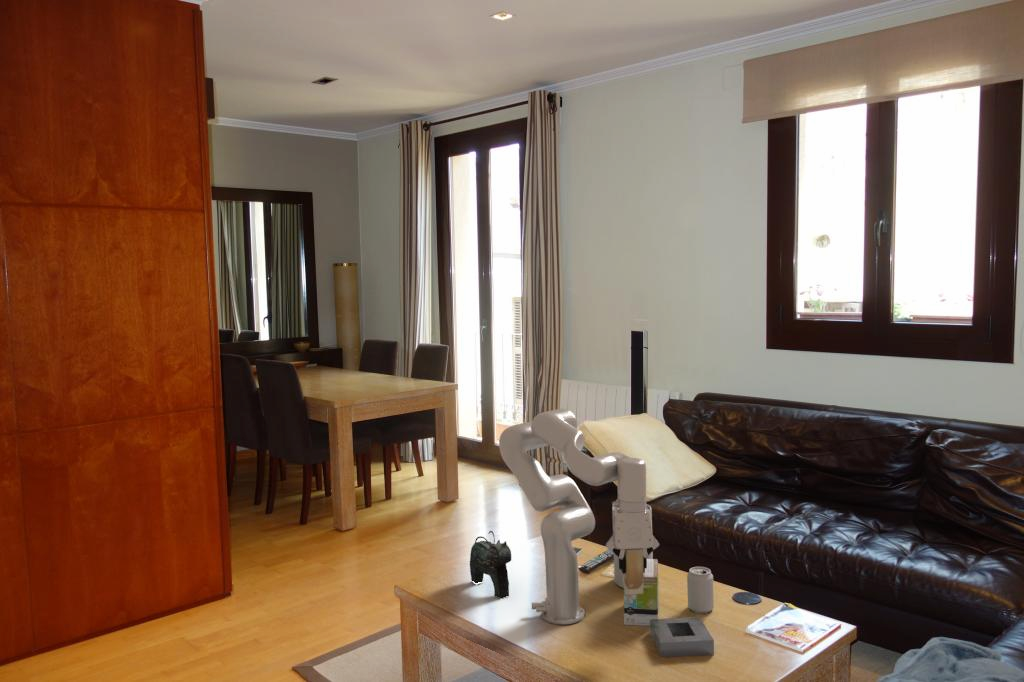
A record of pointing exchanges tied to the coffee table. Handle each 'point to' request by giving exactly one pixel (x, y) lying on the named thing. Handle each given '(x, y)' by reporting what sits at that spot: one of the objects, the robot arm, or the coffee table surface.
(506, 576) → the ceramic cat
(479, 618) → the coffee table surface
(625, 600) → the tea box
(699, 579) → the can
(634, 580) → the skincare box
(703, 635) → the holder
